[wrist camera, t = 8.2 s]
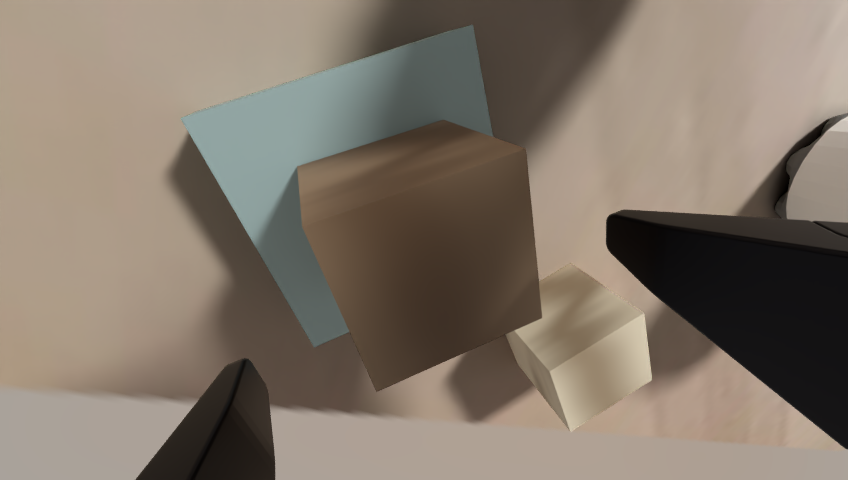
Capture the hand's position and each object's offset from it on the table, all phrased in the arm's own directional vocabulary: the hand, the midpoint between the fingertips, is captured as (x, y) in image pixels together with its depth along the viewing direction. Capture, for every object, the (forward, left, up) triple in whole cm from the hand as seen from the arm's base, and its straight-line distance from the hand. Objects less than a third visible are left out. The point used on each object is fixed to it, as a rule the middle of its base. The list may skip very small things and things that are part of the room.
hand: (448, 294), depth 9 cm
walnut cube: (0, 0, -5) cm, 5 cm away
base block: (0, -1, -8) cm, 8 cm away
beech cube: (-7, +10, -8) cm, 15 cm away
